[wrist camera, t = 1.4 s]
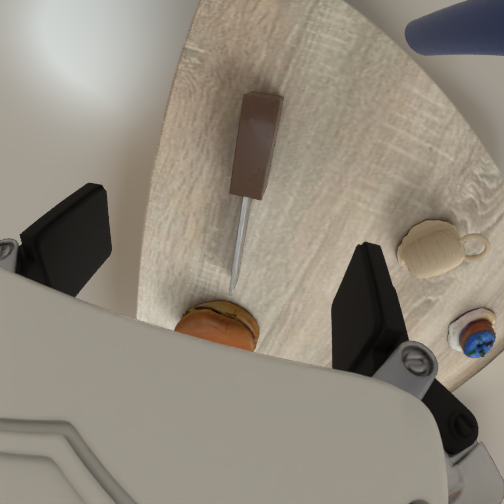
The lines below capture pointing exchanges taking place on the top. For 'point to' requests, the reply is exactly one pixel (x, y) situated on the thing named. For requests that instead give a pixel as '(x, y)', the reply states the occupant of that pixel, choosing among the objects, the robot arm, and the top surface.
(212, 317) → the burger
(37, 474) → the robot arm
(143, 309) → the top surface
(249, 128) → the knife
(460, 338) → the dessert
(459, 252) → the decorative ornament
